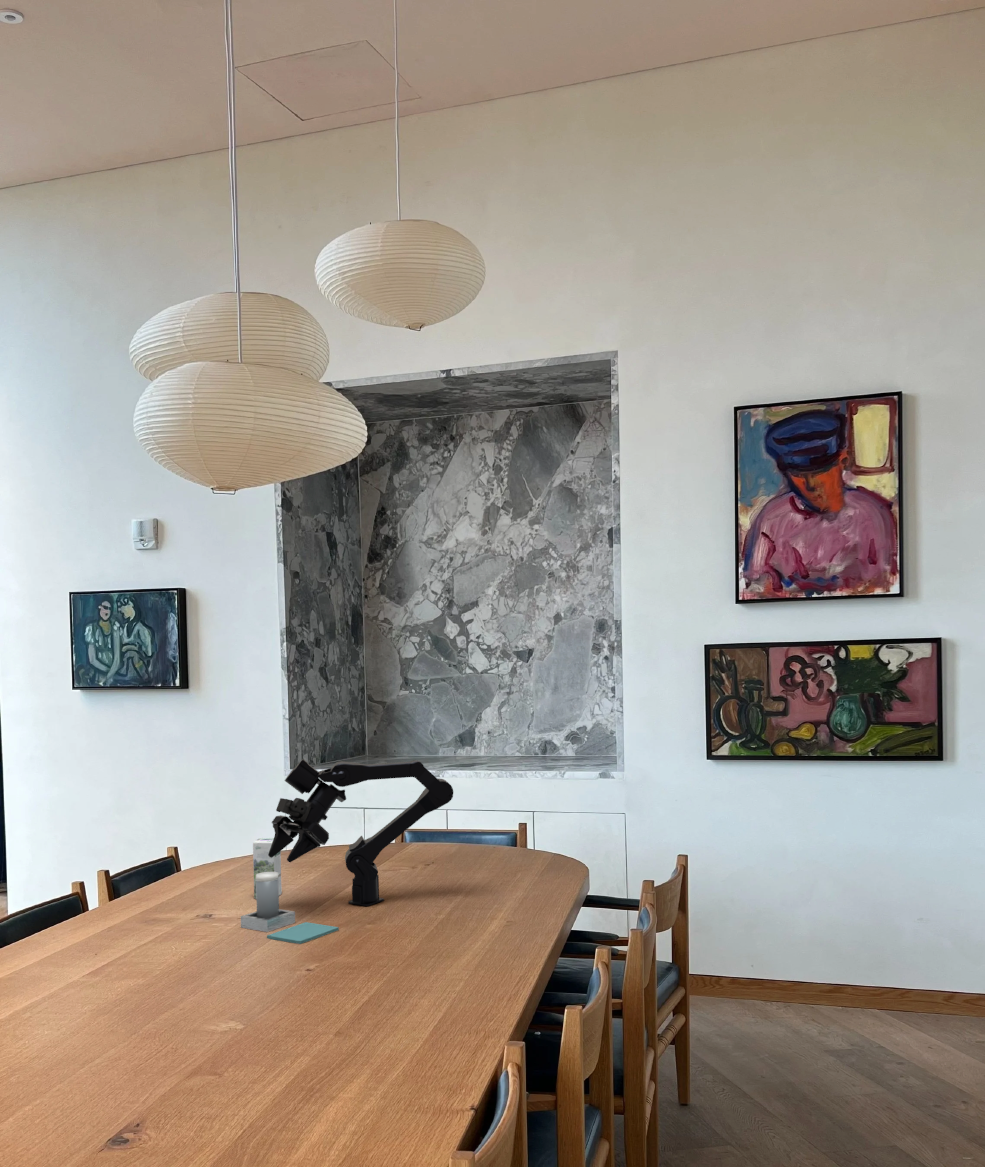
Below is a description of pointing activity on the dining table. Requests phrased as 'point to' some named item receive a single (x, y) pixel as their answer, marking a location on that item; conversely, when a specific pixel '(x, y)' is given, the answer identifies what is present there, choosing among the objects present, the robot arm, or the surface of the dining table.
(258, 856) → the syrup box
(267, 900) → the ball
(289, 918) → the collar
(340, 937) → the dining table surface
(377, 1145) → the dining table surface
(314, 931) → the mat
